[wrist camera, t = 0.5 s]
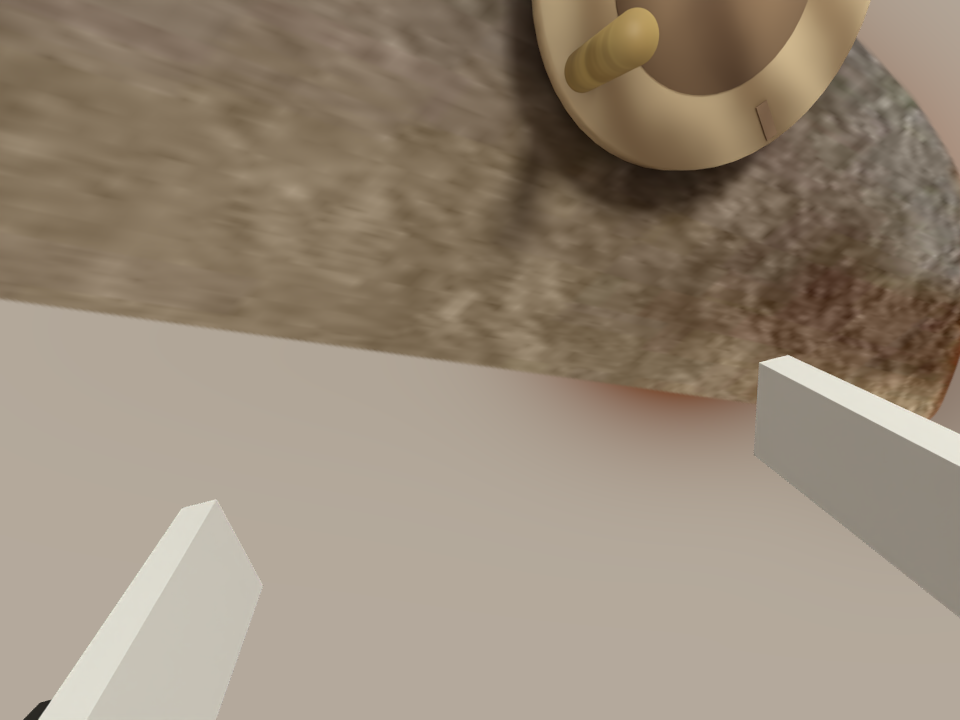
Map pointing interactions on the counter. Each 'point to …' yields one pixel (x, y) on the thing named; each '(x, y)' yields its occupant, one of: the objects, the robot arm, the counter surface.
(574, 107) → the turntable
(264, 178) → the counter surface
